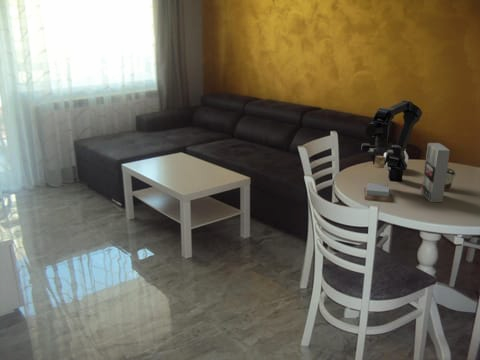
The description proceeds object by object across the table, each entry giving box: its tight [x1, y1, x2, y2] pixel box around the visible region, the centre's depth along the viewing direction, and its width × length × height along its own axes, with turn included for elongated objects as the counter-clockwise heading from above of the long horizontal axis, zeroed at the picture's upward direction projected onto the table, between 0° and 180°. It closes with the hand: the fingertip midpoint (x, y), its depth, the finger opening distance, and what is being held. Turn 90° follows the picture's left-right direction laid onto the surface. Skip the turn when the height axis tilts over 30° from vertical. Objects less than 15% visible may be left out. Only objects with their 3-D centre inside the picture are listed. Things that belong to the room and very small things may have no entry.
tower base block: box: [363, 187, 392, 202], centre depth 229 cm, size 12×12×2 cm
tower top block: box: [365, 182, 390, 197], centre depth 228 cm, size 10×10×2 cm
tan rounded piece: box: [373, 155, 385, 169], centre depth 239 cm, size 5×5×5 cm
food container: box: [444, 167, 456, 191], centre depth 240 cm, size 12×6×10 cm, turn 65°
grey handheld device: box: [419, 142, 451, 203], centre depth 224 cm, size 14×6×25 cm, turn 178°
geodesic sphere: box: [383, 148, 409, 170], centre depth 267 cm, size 14×14×14 cm
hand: (379, 164), depth 240 cm, fingers closed on tan rounded piece, 5 cm apart
